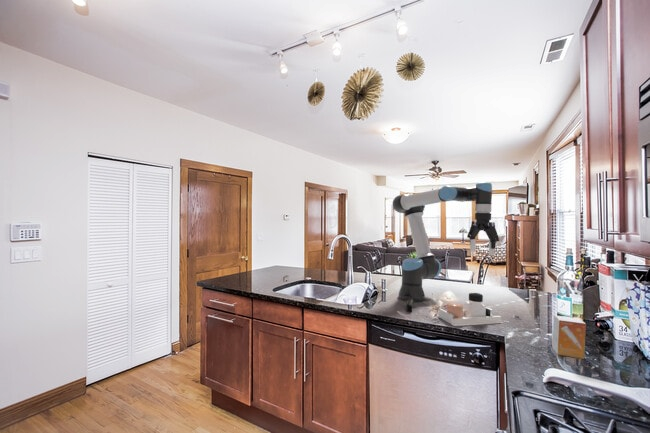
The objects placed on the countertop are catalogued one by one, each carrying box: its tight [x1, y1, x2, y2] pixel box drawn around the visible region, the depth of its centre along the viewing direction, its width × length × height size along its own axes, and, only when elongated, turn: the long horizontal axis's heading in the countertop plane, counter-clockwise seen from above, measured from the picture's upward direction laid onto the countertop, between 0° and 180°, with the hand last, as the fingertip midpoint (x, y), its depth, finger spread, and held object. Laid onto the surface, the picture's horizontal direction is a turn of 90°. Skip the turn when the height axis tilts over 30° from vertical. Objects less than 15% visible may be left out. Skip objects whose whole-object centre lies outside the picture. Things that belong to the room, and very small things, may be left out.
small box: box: [551, 314, 587, 360], centre depth 113 cm, size 8×6×13 cm
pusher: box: [486, 306, 493, 316], centre depth 147 cm, size 8×4×5 cm, turn 13°
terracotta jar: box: [446, 302, 464, 319], centre depth 143 cm, size 7×7×7 cm
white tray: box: [436, 308, 504, 327], centre depth 145 cm, size 14×26×5 cm, turn 103°
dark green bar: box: [406, 298, 414, 313], centre depth 160 cm, size 5×3×15 cm
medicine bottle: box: [464, 292, 487, 318], centre depth 146 cm, size 7×7×12 cm
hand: (481, 253), depth 159 cm, fingers open, 13 cm apart
